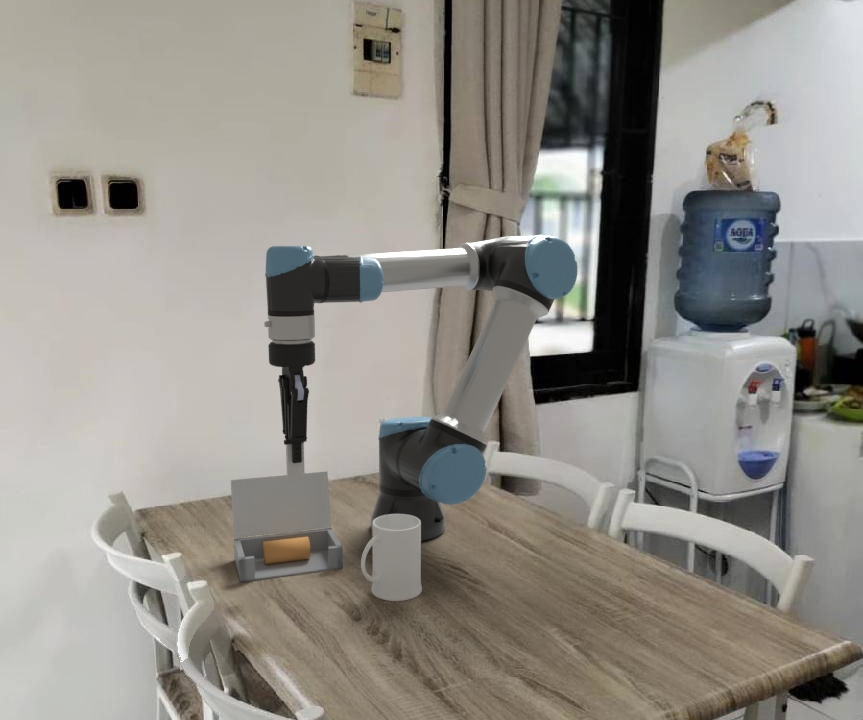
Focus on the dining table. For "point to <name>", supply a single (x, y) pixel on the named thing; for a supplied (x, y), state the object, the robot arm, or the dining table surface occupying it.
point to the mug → (395, 557)
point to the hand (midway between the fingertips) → (295, 479)
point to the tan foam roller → (286, 550)
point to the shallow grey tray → (322, 558)
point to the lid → (280, 504)
